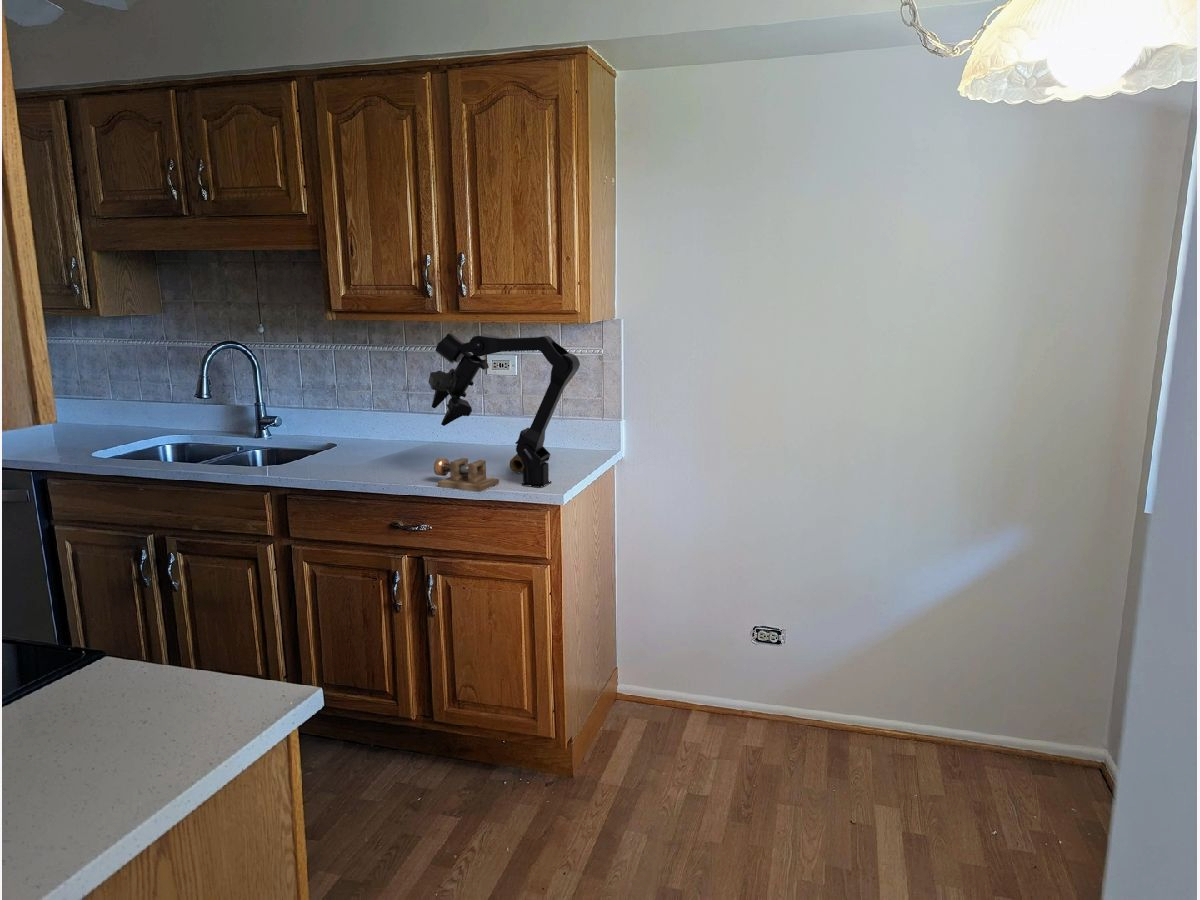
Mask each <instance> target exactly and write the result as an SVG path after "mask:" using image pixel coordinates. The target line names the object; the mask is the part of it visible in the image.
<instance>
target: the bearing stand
mask: <svg viewBox="0 0 1200 900" xmlns="http://www.w3.org/2000/svg"><path fill="white" fill-rule="evenodd" d="M449 464H450V472H449V473H450V476H449V477H446V478H444V479H441V480H438V481H437V488H446V489H452V490H454V489H455V490H461V491H470V492H477V493H478V492H479V493H480V492H483V491H485V490H488V489H490V488H489V487H491V486H493V485H496V484H498V483H499V484H500V479H499V478H495V477H494V478H493V477H488V476H487V461H486V460H483V459H478V460H476V461H473V462H470V463H469V459H468V458H465V457H460V458H459V459H455V460H452V461H450V462H449ZM459 465H467V466H468V474H462V473H459ZM477 468H478V473H477ZM499 484H498V485H499ZM496 486H497V485H496ZM493 487H494V486H493ZM487 488H488V489H487ZM491 488H492V487H491Z"/></svg>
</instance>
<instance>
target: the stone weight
mask: <svg viewBox="0 0 1200 900" xmlns="http://www.w3.org/2000/svg"><path fill="white" fill-rule="evenodd" d="M509 468H510V470H511V471H512V472H514V473H518V472H520V473H523V468H524V465H523V462H522V460H521V458H520V457H519V455H518V454H517V453H516V455H514V456H513V457H512V458H511V459H510V461H509Z"/></svg>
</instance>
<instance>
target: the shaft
mask: <svg viewBox="0 0 1200 900" xmlns="http://www.w3.org/2000/svg"><path fill="white" fill-rule="evenodd" d="M449 461H450V460H449V459H447V458H442V457H437V459H435V461H434V464H433V472H434V474H435V475H436V476H442V477H445V476H447V475H448V473H450V462H449ZM459 473H462V474H468V466H467V465H459ZM477 473H478V468H477Z"/></svg>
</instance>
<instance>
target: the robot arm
mask: <svg viewBox="0 0 1200 900" xmlns="http://www.w3.org/2000/svg"><path fill="white" fill-rule="evenodd" d="M525 351H527V352H529V351H531V352H532V351H535V352H536V351H540V353H541V354H542V355H543V356H544V358H545V359H546V360H547V361H548V363H549V364H551V366H552V367H551V371H550V378H549V379H550V382H549V385H548V387H547V388H546V391H545V393H544V396H543V398H542V400H541V402H540V404H539V407H538V410H537V412H536V414H535V416H534V419H533V421H532V423H531V425H530V426H529V427H527V428H524V429H523V430H521V431H520V433H519V436H518V439H517V441H516V442H515V444H516V446H515V451H516V454H518V455H519V457H520V458H521V460H522V462H523V465H524V468H523V472H522V483H521V486H524V485H531V486H530V487H533V486H539V487H538V488H542V487H541V486H543V487H545V486H546V485H545V484H548V483H550V482H551V483H552V480H549V479H550V478H549V477H550V475H549V474H550V473H549V472H550V471H549V462H548V461H549V460H550V458H551V453H550V452H549V451H548V450H547V448H546V447H544V443H545V438H546V430H547V428H548V425H549V423H550V421H551V419H552V417H553V414H554V413H555V409H556V408H557V406H558V403H559V401H560V399H561V397H562V395H563V392H564V389H565V388H566V386H567V385H568V384H569V383H570V382H571V380H572V379H573V378H574V376H575V375H576V373H577V372H578V370H579V369H580V366H581V363H580V360H579V358H578V357H577V355H576V354H574V353H570V352H568V350H567V349H565V348H564V347H563V346H561V345H560V344H558V343H557V342H556V341H555V340H554V339H553V338H552V337H551V336H550V335H542V336H526V337H524V336H523V337H502V336H499V335H498V336H497V335H494V334H493V335H492V334H491V335H490V334H478V335H475V336H472V337H471V338H470V340H469V342H462V341H461V340H460V339H458V338H457V337H456V336H455V335H454V334H453V333H452V332H449V333H447V334H446V336H445V337H443V338H442V339H441V340H440V342H438V343H437V345H436V347H435V353H437V354H438V355H439V356H440V357H442V358H443V359H445V360H446V361H448V362H449V363H450V364H453V363H456V364H457V363H458V364H457V366H456V367H455V368H451V369H449V371H448V372H444V371H442V370H437V371H431V372H430V373H429V376H428V377H429V379H428V384H429V386H430V388H431V390H433V391H434V395H433V399H432V403H431V408H432V409H436V408H437V407H438V406H440V404H441V403H443V401H444V400H445V399H446V398H448V396H449V395H450V398H449V400H448V403H446V409H447V410H446V412H445V415H444V416H443V418H442V420H441V426H444V427H445V426H447V425H448V424H450V423H452V422H453V421H455V420H457V419H459V418H461V417H470V415H471V413H472V412H473V409H472V406H471V404H470V403H469V401H468V400H466V399H464V398H466V397H467V393H466V391H467V390H468V388H469V386H471V387H473V386H474V384H475V383H474V381H473V380H474V378H475V377H476V375H477V373H478V372H479V370H480V369H481V370H483V371H484V370H487V369H489V368H490V365H489V363H488V359H487V358H486V359H482V358H481V357H484V356H486V355H491V354H497V353H501V352H525ZM461 397H462V398H461ZM549 481H550V482H549ZM551 483H550V484H551ZM544 485H545V486H544ZM548 485H549V484H548Z"/></svg>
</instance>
